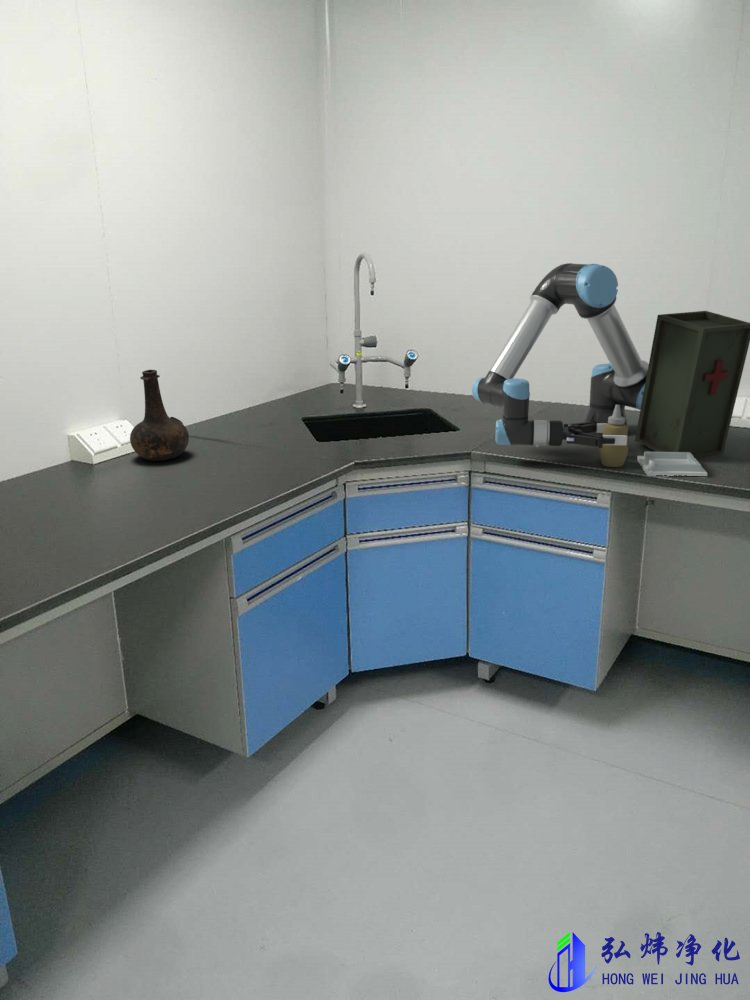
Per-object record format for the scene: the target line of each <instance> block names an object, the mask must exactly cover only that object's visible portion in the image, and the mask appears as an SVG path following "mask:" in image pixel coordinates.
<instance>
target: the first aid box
mask: <svg viewBox="0 0 750 1000" xmlns="http://www.w3.org/2000/svg"><path fill="white" fill-rule="evenodd" d="M749 346H750V322H747V321H746V320H745V321H744V320H741V319H737V318H734V317H730V316H726V315H722V314H719V313H715V312H712V311H708V310H697V311H688V312H687V311H686V312H674V313H663V314H662V313H661V314H657V316H656V322H655V328H654V333H653V340H652V345H651V351H650V355H649V359H648V360H649V361H648V364H649V366H648V371H647V377H646V382H645V388H644V393H643V399H642V404H641V410H639V416H638V422H637V427H636V431H635V432H636V433H635V437H634V441H635V442H637V443H638V444H641V445H643V446H644V447H646V448H648V449H650V450H652V451H653V452H690V453H691V454H692V455H693V456H694V457H696V458H700V457H699V456H702V457H706V455H708V456H712V455H718V454H723V453H724V451H725V447H726V442H727V438H728V436H729V435H728V434H729V430H730V426H731V423H732V422H731V421H732V419H733V413H734V408H735V404H736V402H737V396H738V393H739V388H740V384H741V380H742V377H743V376H742V375H743V373H744V367H745V363H746V359H747V355H748V350H749Z"/></svg>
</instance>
